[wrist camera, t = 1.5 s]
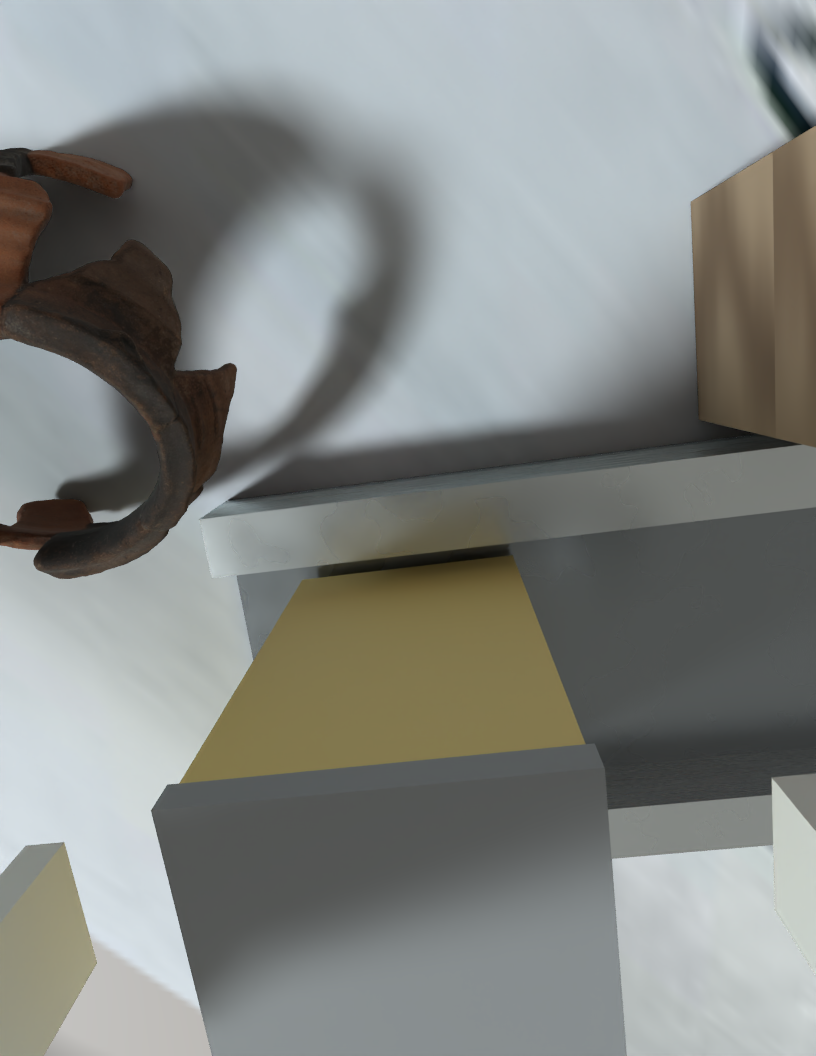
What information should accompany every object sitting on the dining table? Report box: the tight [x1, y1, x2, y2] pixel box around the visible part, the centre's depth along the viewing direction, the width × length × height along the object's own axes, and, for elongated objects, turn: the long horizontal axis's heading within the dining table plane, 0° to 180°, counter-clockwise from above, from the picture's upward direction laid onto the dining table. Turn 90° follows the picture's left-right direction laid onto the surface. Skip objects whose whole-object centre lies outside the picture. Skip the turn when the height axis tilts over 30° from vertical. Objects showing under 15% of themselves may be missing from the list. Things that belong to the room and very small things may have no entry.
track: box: [199, 434, 816, 859], centre depth 20 cm, size 11×21×2 cm, turn 98°
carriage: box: [151, 555, 627, 1056], centre depth 15 cm, size 7×6×11 cm
